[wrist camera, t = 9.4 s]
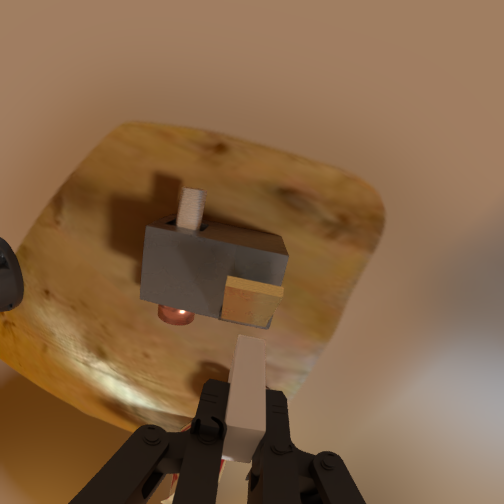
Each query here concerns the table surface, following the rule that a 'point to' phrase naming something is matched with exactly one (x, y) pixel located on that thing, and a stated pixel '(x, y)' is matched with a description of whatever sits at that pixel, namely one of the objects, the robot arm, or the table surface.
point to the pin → (191, 219)
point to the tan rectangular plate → (249, 302)
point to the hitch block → (205, 263)
